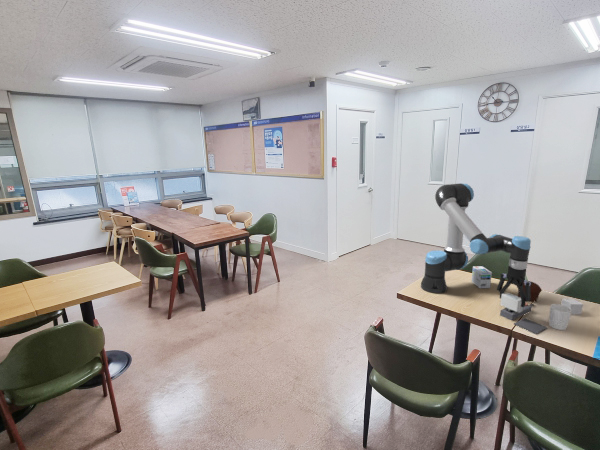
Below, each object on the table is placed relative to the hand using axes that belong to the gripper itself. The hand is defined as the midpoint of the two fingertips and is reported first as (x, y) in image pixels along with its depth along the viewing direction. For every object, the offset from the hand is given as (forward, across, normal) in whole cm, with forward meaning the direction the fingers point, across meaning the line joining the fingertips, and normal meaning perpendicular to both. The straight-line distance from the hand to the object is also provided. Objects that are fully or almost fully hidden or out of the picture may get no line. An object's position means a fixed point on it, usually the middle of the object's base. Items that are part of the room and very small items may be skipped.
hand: (510, 308), depth 165 cm
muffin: (+5, -6, +28) cm, 29 cm away
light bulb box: (+5, -31, +23) cm, 39 cm away
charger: (+1, 0, 0) cm, 1 cm away
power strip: (+4, 0, +9) cm, 10 cm away
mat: (+4, +11, -2) cm, 12 cm away
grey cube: (+5, +14, +31) cm, 34 cm away
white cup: (+4, +17, +9) cm, 20 cm away
